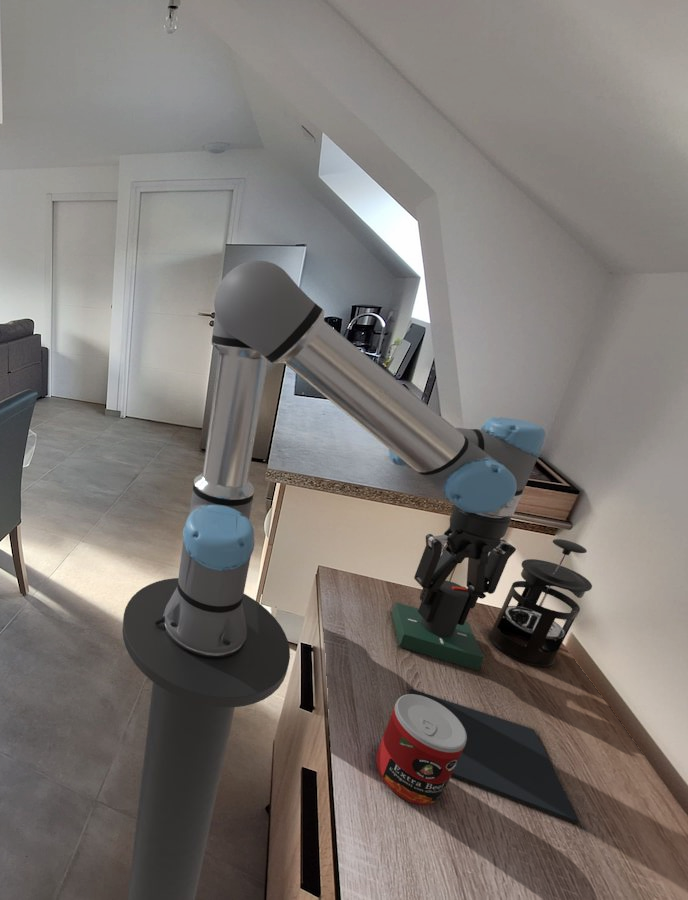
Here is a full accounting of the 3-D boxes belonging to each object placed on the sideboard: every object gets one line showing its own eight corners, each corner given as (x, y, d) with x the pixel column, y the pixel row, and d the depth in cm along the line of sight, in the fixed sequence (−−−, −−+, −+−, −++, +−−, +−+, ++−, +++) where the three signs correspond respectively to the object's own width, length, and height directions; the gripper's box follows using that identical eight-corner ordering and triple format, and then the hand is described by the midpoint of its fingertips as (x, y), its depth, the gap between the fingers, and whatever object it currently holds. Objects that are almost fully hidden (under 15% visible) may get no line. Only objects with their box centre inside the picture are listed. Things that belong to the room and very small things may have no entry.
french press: (561, 679, 79) (622, 568, 71) (492, 655, 84) (542, 549, 75) (543, 637, 88) (595, 536, 80) (482, 618, 93) (525, 520, 85)
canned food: (377, 791, 60) (401, 732, 56) (371, 740, 67) (391, 684, 63) (447, 819, 57) (476, 760, 53) (432, 763, 64) (458, 706, 60)
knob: (430, 635, 84) (446, 594, 80) (415, 616, 88) (429, 577, 85) (459, 638, 83) (476, 597, 80) (442, 619, 88) (458, 580, 84)
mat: (427, 767, 64) (428, 764, 63) (409, 691, 75) (410, 688, 75) (577, 824, 57) (579, 821, 57) (532, 732, 69) (534, 729, 69)
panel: (399, 646, 85) (404, 633, 84) (391, 613, 93) (395, 601, 92) (478, 670, 80) (484, 656, 79) (462, 633, 89) (468, 620, 87)
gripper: (441, 515, 74) (400, 628, 82) (560, 524, 72) (506, 638, 81) (414, 495, 81) (379, 600, 89) (522, 502, 79) (477, 609, 88)
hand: (440, 618), depth 85 cm, fingers closed on knob, 5 cm apart
